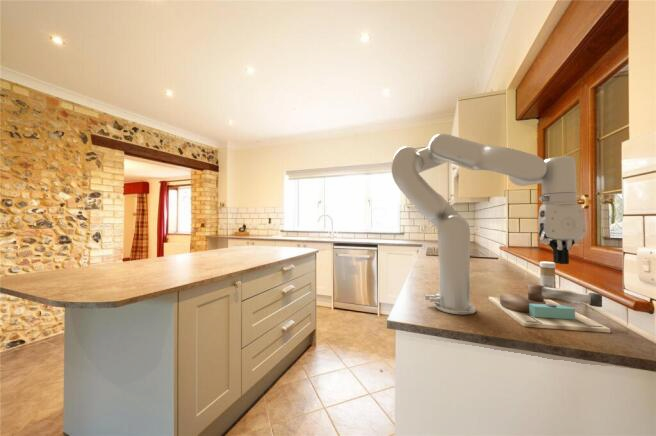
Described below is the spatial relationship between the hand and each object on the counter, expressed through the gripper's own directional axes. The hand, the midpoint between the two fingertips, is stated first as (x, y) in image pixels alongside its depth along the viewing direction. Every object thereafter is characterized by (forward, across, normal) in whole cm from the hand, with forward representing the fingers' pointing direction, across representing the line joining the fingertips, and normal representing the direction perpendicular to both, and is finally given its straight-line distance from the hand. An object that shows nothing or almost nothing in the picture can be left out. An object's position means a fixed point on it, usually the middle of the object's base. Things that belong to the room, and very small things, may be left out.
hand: (561, 263), depth 74 cm
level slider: (+16, -2, +2) cm, 16 cm away
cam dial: (+16, 0, +7) cm, 17 cm away
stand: (+17, -1, +8) cm, 19 cm away
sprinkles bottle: (+18, +15, +25) cm, 34 cm away
